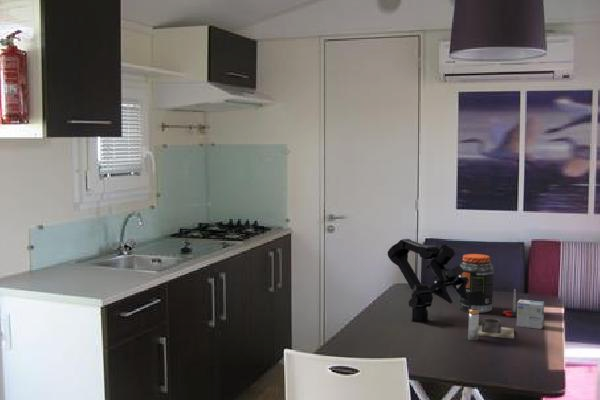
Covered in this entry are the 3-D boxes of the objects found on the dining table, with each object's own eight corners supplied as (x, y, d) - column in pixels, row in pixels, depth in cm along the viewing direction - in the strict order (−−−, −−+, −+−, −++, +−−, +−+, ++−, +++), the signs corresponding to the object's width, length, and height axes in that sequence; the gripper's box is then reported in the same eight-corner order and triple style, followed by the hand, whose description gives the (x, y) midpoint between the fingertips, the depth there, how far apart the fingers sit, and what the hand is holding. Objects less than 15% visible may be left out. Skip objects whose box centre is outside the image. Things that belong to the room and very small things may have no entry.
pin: (467, 339, 281) (468, 310, 279) (468, 337, 284) (469, 308, 283) (477, 340, 279) (478, 311, 278) (478, 338, 283) (479, 309, 282)
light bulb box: (543, 325, 303) (544, 301, 302) (541, 329, 297) (542, 304, 296) (518, 322, 308) (519, 298, 307) (516, 326, 302) (516, 302, 301)
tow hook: (501, 312, 327) (504, 316, 318) (502, 285, 326) (505, 288, 317) (520, 313, 326) (523, 317, 316) (521, 286, 325) (524, 289, 316)
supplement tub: (495, 308, 333) (497, 254, 331) (488, 315, 320) (490, 259, 317) (462, 304, 341) (464, 252, 338) (454, 311, 327) (455, 256, 324)
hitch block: (468, 334, 288) (469, 322, 288) (469, 326, 300) (470, 315, 299) (513, 338, 283) (514, 326, 283) (513, 330, 295) (513, 319, 294)
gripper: (434, 261, 285) (454, 293, 277) (466, 257, 296) (485, 288, 287) (420, 277, 292) (439, 308, 284) (452, 273, 303) (470, 303, 295)
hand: (459, 301), depth 287 cm, fingers open, 9 cm apart
